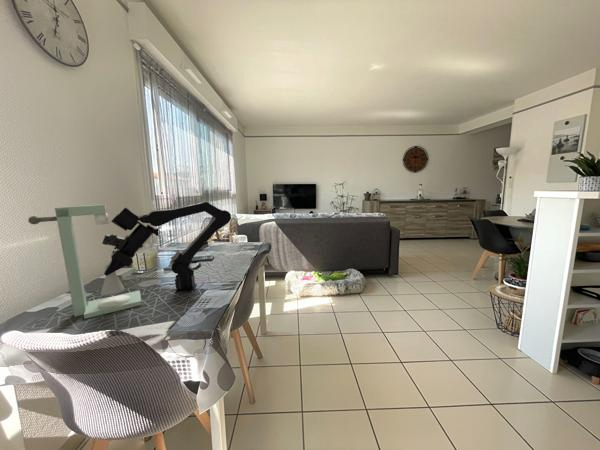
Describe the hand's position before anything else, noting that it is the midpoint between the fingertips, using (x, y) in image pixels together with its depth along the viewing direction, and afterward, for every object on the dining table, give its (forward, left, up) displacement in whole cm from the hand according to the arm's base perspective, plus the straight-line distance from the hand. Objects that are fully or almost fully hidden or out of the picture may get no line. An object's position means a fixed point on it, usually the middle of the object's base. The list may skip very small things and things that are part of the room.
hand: (105, 273), depth 90 cm
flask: (-1, 0, -7) cm, 8 cm away
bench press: (+3, +2, -12) cm, 13 cm away
